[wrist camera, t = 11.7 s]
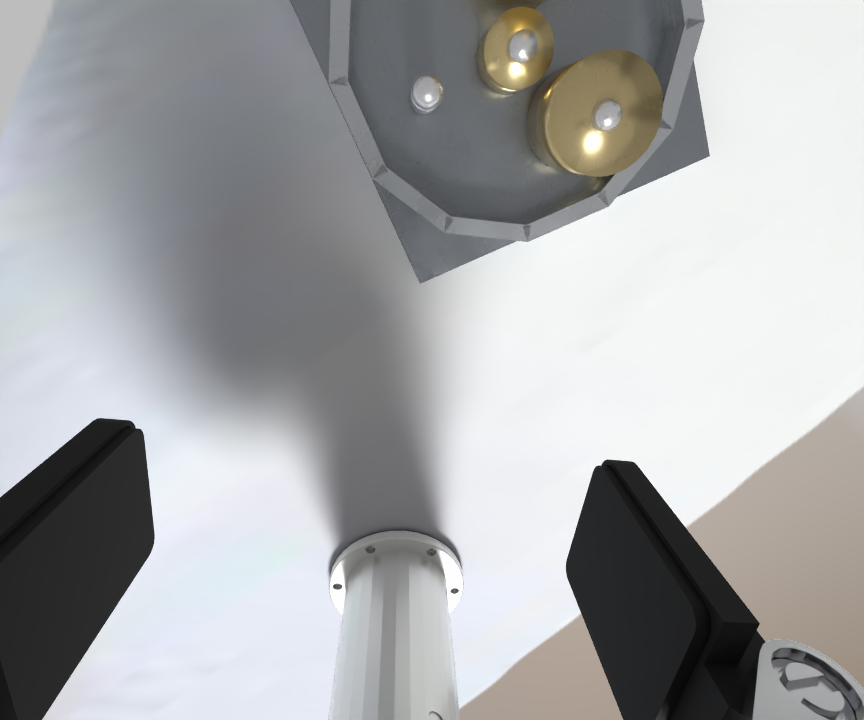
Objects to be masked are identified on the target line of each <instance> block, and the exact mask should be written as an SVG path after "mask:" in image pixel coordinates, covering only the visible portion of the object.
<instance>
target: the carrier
mask: <svg viewBox="0 0 864 720" xmlns="http://www.w3.org/2000/svg"><path fill="white" fill-rule="evenodd" d="M290 1H291V3H292V5H293V8H294V10H295V12H296V14H297V16H298V19H299V21H300V23H301V25H302V27H303V29H304V32H305V34H306V36H307V38H308V40H309V43H310V45H311V47H312V49H313V51H314V53H315V56H316V58H317V60H318V62H319V64H320V67H321V69H322V71H323V73H324V75H325V77H326V80H327V82H328V84H329V86H330V88H331V91H332V93H333V95H334V97H335V99H336V101H337V104H338V106H339V108H340V110H341V112H342V114H343V117H344V119H345V121H346V123H347V125H348V128H349V130H350V132H351V134H352V136H353V138H354V141H355V143H356V145H357V147H358V149H359V152H360V154H361V156H362V158H363V160H364V162H365V165H366V167H367V169H368V171H369V173H370V176H371V178H372V180H373V182H374V184H375V186H376V189H377V191H378V193H379V195H380V197H381V200H382V202H383V204H384V206H385V208H386V210H387V213H388V215H389V217H390V219H391V221H392V223H393V226H394V228H395V230H396V232H397V234H398V237H399V239H400V241H401V243H402V245H403V247H404V250H405V252H406V254H407V256H408V258H409V261H410V263H411V265H412V267H413V269H414V271H415V274H416V276H417V278H418V280H419V282H420V283H422V282H425V281H427V280H429V279H432V278H434V277H436V276H438V275H441V274H443V273H445V272H447V271H450V270H452V269H454V268H457V267H459V266H461V265H463V264H466V263H468V262H470V261H472V260H475V259H477V258H479V257H482V256H484V255H486V254H488V253H491V252H493V251H495V250H497V249H500V248H502V247H504V246H507V245H509V244H511V243H513V242H516V241H525V242H529V241H531V240H533V239H535V238H538V237H540V236H542V235H544V234H547V233H549V232H551V231H554V230H556V229H558V228H560V227H563V226H565V225H567V224H570V223H572V222H574V221H576V220H579V219H581V218H583V217H586V216H588V215H590V214H592V213H595V212H597V211H599V210H601V209H604V208H606V207H608V206H609V205H610V204H611V203H612V202H613V201H614V199H615V198H616V197H618V196H620V195H622V194H625V193H627V192H629V191H632V190H634V189H636V188H638V187H641V186H643V185H645V184H647V183H650V182H652V181H654V180H657V179H659V178H661V177H663V176H666V175H668V174H670V173H672V172H675V171H677V170H679V169H682V168H684V167H686V166H688V165H691V164H693V163H695V162H697V161H700V160H702V159H704V158H707V157H709V156H710V155H709V149H708V143H707V137H706V131H705V125H704V119H703V113H702V107H701V101H700V95H699V89H698V83H697V78H696V72H695V66H694V60H693V59H694V56H695V52H696V49H697V45H698V42H699V38H700V35H701V31H702V28H703V24H704V14H703V8H702V1H701V0H545V1H544V2H543V3H541V4H540V5H539V6H538V7H537V8H536V9H533V8H529V7H520V6H514V5H507V4H501V3H495V2H494V1H493V0H290Z"/></svg>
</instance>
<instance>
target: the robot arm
mask: <svg viewBox="0 0 864 720" xmlns="http://www.w3.org/2000/svg"><path fill="white" fill-rule="evenodd" d="M153 544H154V526H153V516H152V507H151V498H150V488H149V479H148V470H147V460H146V451H145V442H144V435H143V432H142V430H141V429H136V428H135V425H134V424H133V422H131V421H128V420H116V419H104V418H99V419H96V420H94V421H93V422H91V423H90V424H89V425H88V426H87V427H85V428H84V429H83V430H82V431H80V432H79V433H78V434H77V435H76V436H74V437H73V438H72V439H71V440H70V441H68V442H67V443H66V444H65V445H63V446H62V447H61V448H60V449H59V450H57V451H56V452H55V453H54V454H53V455H51V456H50V457H49V458H48V459H46V460H45V461H44V462H43V463H42V464H40V465H39V466H38V467H37V468H35V469H34V470H33V471H32V472H31V473H29V474H28V475H27V476H26V477H25V478H23V479H22V480H21V481H20V482H18V483H17V484H16V485H15V486H14V487H12V488H11V489H10V490H9V491H8V492H6V493H5V494H4V495H3V496H1V497H0V720H42V719H43V717H44V716H45V714H46V713H47V711H48V710H49V708H50V707H51V705H52V703H53V702H54V700H55V699H56V697H57V696H58V694H59V693H60V691H61V690H62V688H63V687H64V685H65V684H66V682H67V681H68V679H69V677H70V676H71V674H72V673H73V671H74V670H75V668H76V667H77V665H78V664H79V662H80V661H81V659H82V658H83V656H84V654H85V653H86V651H87V650H88V648H89V647H90V645H91V644H92V642H93V641H94V639H95V638H96V636H97V635H98V633H99V632H100V630H101V628H102V627H103V625H104V624H105V622H106V621H107V619H108V618H109V616H110V615H111V613H112V612H113V610H114V609H115V607H116V606H117V604H118V602H119V601H120V599H121V598H122V596H123V595H124V593H125V592H126V590H127V589H128V587H129V586H130V584H131V583H132V581H133V579H134V578H135V576H136V575H137V573H138V572H139V570H140V569H141V567H142V566H143V564H144V563H145V561H146V560H147V558H148V557H149V555H150V553H151V551H152V548H153ZM566 573H567V578H568V581H569V583H570V586H571V588H572V591H573V593H574V596H575V598H576V601H577V603H578V606H579V608H580V611H581V614H582V616H583V618H584V621H585V623H586V626H587V629H588V631H589V634H590V636H591V639H592V641H593V644H594V646H595V649H596V651H597V654H598V656H599V659H600V662H601V664H602V667H603V669H604V672H605V674H606V677H607V679H608V682H609V684H610V687H611V689H612V692H613V695H614V697H615V699H616V702H617V705H618V707H619V710H620V712H621V715H622V717H623V719H624V720H864V689H863V688H862V686H861V685H860V684H859V683H858V682H857V681H856V680H855V679H854V678H853V677H852V676H851V675H850V674H849V673H848V672H847V671H846V670H844V669H843V668H842V667H841V666H839V665H838V664H837V663H836V662H834V661H833V660H832V659H830V658H828V657H827V656H825V655H823V654H822V653H820V652H818V651H817V650H815V649H813V648H811V647H808V646H806V645H804V644H802V643H799V642H795V641H791V640H787V639H771V640H769V641H767V642H765V641H764V640H763V638H762V637H761V636H760V634H759V633H758V632H757V628H758V626H759V622H758V621H757V619H756V618H755V617H754V616H753V614H752V613H751V612H750V610H749V609H748V608H747V606H746V605H745V604H744V603H743V601H742V600H741V599H740V597H739V596H738V595H737V594H736V592H735V591H734V590H733V589H732V587H731V586H730V585H729V583H728V582H727V581H726V579H725V578H724V577H723V576H722V574H721V573H720V572H719V570H718V569H717V568H716V566H715V565H714V564H713V563H712V561H711V560H710V559H709V557H708V556H707V555H706V554H705V552H704V551H703V550H702V548H701V547H700V546H699V545H698V543H697V542H696V541H695V539H694V538H693V537H692V536H691V534H690V533H689V532H688V530H687V529H686V528H685V526H684V525H683V524H682V523H681V521H680V520H679V519H678V517H677V516H676V515H675V514H674V512H673V511H672V510H671V508H670V507H669V506H668V505H667V503H666V502H665V501H664V499H663V498H662V497H661V496H660V494H659V493H658V492H657V490H656V489H655V488H654V486H653V485H652V484H651V483H650V481H649V480H648V479H647V477H646V476H645V475H644V474H643V472H642V471H641V470H640V468H639V467H638V466H637V465H636V464H635V463H634V462H630V461H618V460H605V461H604V462H603V463H602V465H601V466H596V467H595V469H594V471H593V474H592V477H591V481H590V484H589V487H588V491H587V494H586V497H585V501H584V504H583V507H582V511H581V514H580V517H579V521H578V524H577V528H576V531H575V534H574V538H573V541H572V544H571V548H570V551H569V554H568V558H567V562H566ZM329 591H330V597H331V599H332V601H333V603H334V605H335V607H336V608H337V609H338V611H339V612H340V613H341V614H342V620H341V627H340V635H339V643H338V650H337V658H336V665H335V673H334V680H333V688H332V695H331V703H330V710H329V718H328V720H460V716H459V706H458V695H457V685H456V674H455V664H454V653H453V643H452V632H451V622H450V612H451V611H452V610H453V609H454V608H455V606H456V605H457V603H458V602H459V600H460V597H461V595H462V591H463V575H462V569H461V566H460V563H459V561H458V559H457V557H456V556H455V554H454V553H453V552H452V551H451V550H450V549H449V548H448V547H447V546H446V545H444V544H443V543H441V542H440V541H438V540H436V539H434V538H432V537H430V536H427V535H424V534H420V533H417V532H410V531H386V532H381V533H376V534H373V535H369V536H366V537H364V538H362V539H360V540H358V541H356V542H354V543H353V544H351V545H350V546H349V547H347V548H346V549H345V550H344V551H343V552H342V553H341V554H340V555H339V557H338V558H337V559H336V561H335V563H334V565H333V567H332V571H331V575H330V582H329Z"/></svg>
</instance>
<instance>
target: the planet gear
mask: <svg viewBox="0 0 864 720" xmlns="http://www.w3.org/2000/svg"><path fill="white" fill-rule="evenodd" d="M493 1H494V2H495V3H501V4H507V5H514V6H520V7H529V8H533V9H536V8H537V7H538V6H539V5H540V4H541V3H543V2H544V1H545V0H493Z"/></svg>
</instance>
